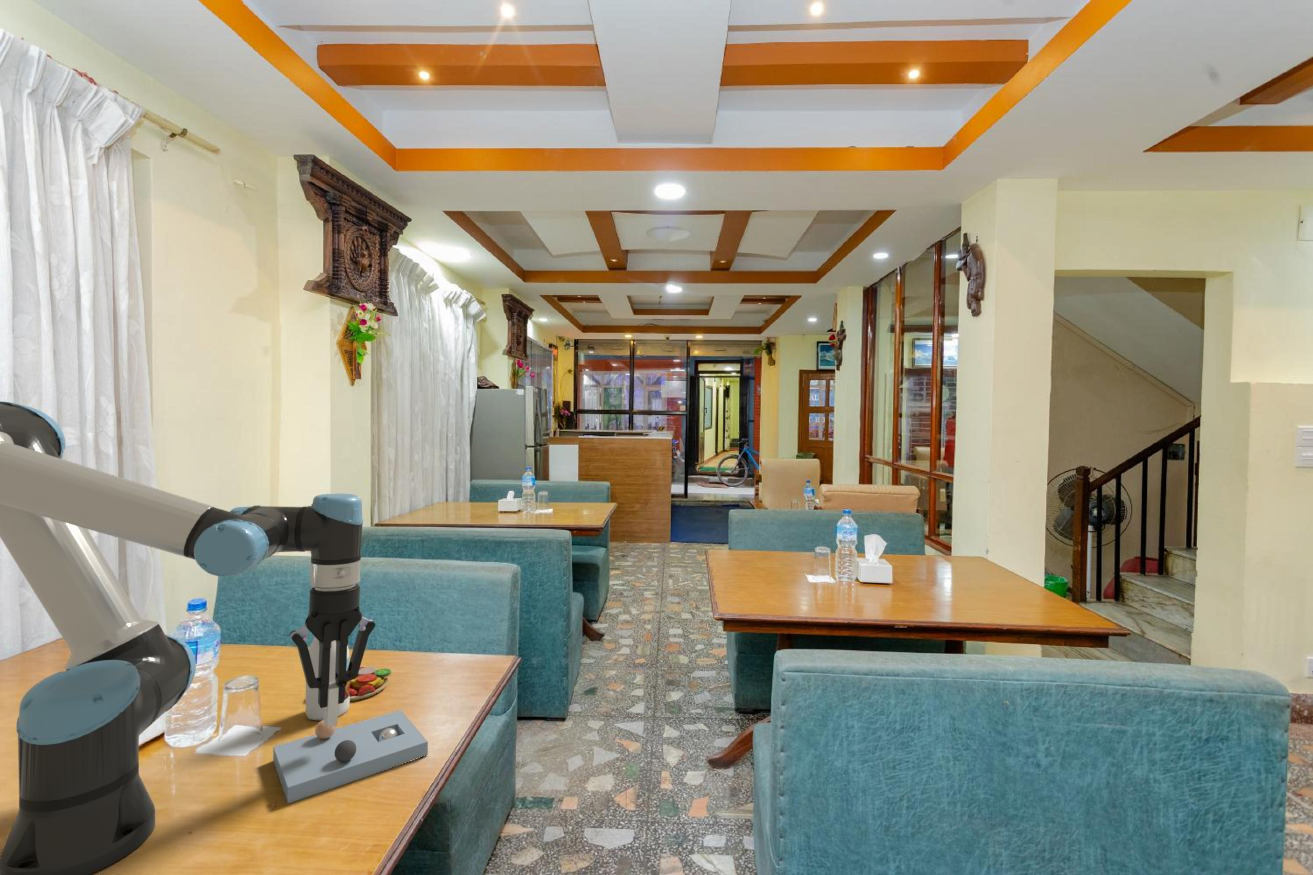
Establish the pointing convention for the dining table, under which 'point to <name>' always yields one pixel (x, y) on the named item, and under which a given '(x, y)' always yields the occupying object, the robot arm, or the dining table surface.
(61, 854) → the robot arm
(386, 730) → the steel ball
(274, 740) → the dining table surface
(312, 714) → the milk bottle
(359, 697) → the toy food set
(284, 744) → the board
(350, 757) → the black ball
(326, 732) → the terracotta ball
